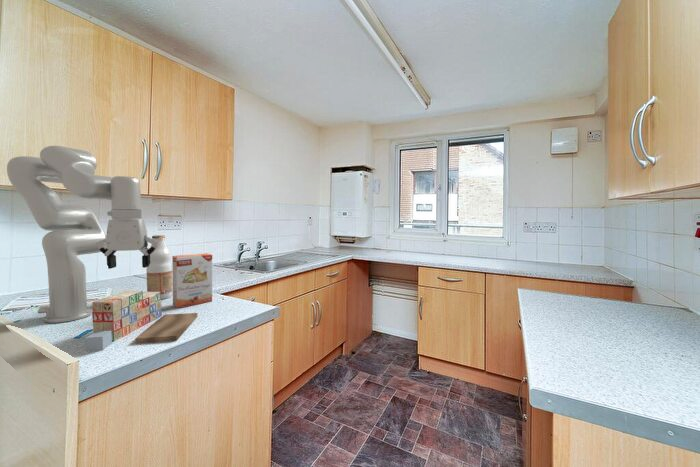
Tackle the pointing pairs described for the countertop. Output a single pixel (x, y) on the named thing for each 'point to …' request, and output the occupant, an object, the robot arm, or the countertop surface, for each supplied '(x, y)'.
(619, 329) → the countertop surface
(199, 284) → the cracker box
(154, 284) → the fruit juice
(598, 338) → the countertop surface
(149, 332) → the walnut board
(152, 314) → the stack of blocks
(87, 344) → the slate cube
